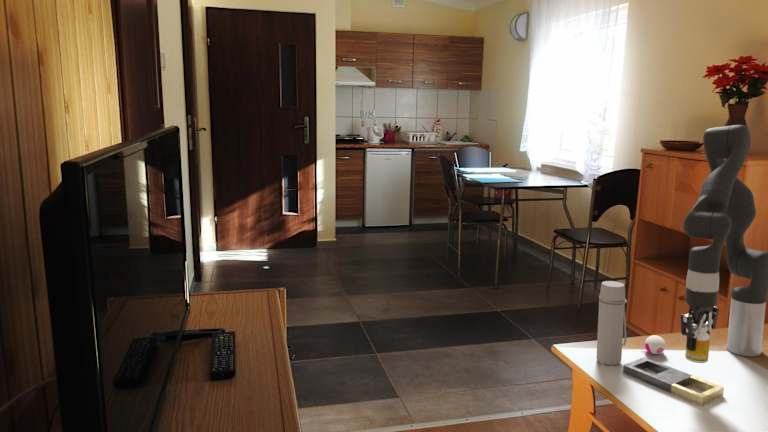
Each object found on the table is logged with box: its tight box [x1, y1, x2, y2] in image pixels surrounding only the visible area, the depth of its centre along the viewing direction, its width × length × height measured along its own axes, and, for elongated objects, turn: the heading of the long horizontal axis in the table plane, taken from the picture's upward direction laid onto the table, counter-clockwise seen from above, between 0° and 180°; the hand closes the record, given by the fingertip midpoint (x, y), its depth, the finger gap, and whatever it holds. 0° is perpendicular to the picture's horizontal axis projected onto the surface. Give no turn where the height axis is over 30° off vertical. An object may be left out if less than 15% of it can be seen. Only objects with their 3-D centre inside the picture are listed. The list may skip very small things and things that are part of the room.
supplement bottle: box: [684, 324, 711, 364], centre depth 150 cm, size 5×5×10 cm
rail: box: [622, 357, 725, 407], centre depth 158 cm, size 10×24×2 cm, turn 31°
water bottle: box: [596, 280, 628, 366], centre depth 172 cm, size 9×8×25 cm
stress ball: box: [640, 334, 666, 355], centre depth 179 cm, size 8×8×7 cm
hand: (697, 347), depth 150 cm, fingers closed on supplement bottle, 5 cm apart
